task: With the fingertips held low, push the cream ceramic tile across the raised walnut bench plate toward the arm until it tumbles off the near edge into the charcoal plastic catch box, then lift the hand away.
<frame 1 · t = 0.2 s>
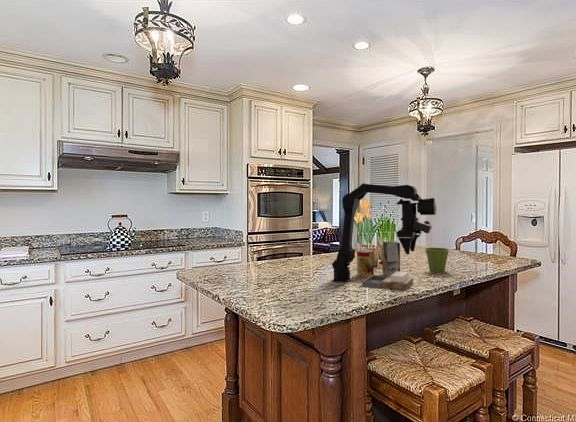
hand: (410, 252, 151), 14 cm above the countertop, fingers open, 9 cm apart
coffee box: (391, 275, 177), on the countertop
catch box: (377, 283, 159), on the countertop
canned food: (365, 275, 177), on the countertop
cream tile: (399, 279, 154), point 2 cm above the countertop, touching bench plate
bench plate: (397, 285, 155), on the countertop
plant pot: (437, 271, 185), on the countertop
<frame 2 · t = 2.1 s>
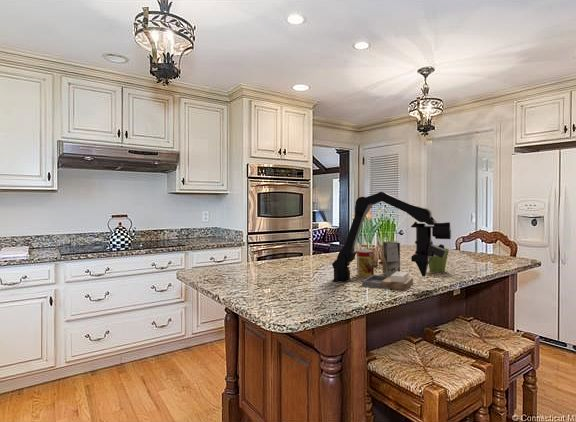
hand: (423, 276, 149), 5 cm above the countertop, fingers closed
nothing on the countertop moved.
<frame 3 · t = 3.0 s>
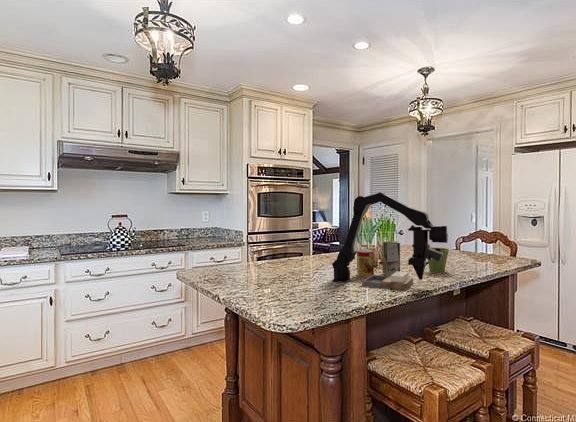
hand: (420, 279, 150), 3 cm above the countertop, fingers closed
nothing on the countertop moved.
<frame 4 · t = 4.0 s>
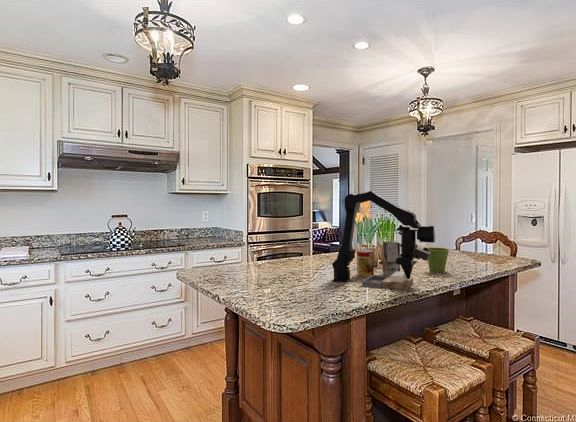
hand: (408, 278, 153), 3 cm above the countertop, fingers closed, pressing on cream tile
cream tile: (399, 279, 154), point 3 cm above the countertop, touching gripper
everything else where it was.
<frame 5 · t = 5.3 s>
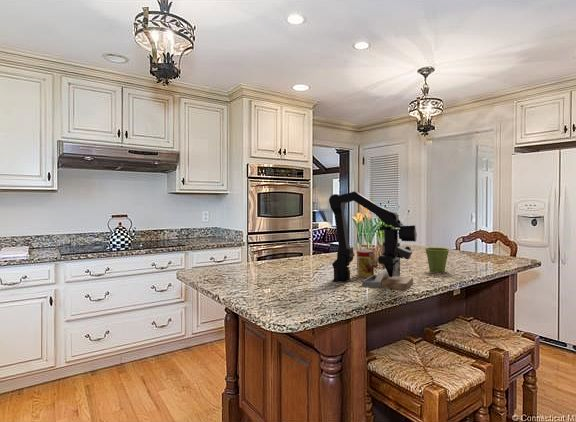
hand: (391, 276, 156), 3 cm above the countertop, fingers closed
cream tile: (384, 278, 158), point 3 cm above the countertop, tilted 66°, touching catch box
everything else where it was.
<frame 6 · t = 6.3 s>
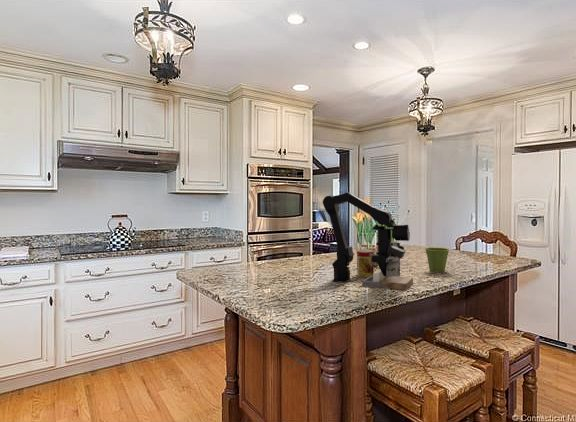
hand: (384, 276, 158), 4 cm above the countertop, fingers closed, pressing on cream tile
cream tile: (382, 277, 158), point 3 cm above the countertop, tilted 91°, touching catch box, gripper
everything else where it was.
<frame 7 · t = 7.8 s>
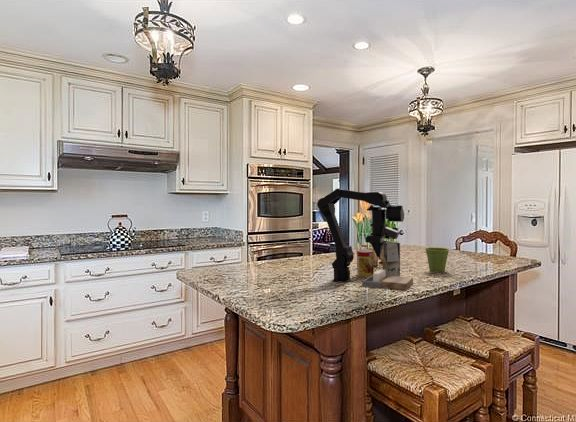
hand: (378, 257, 157), 12 cm above the countertop, fingers closed
cream tile: (382, 277, 158), point 3 cm above the countertop, tilted 90°, touching catch box
everything else where it was.
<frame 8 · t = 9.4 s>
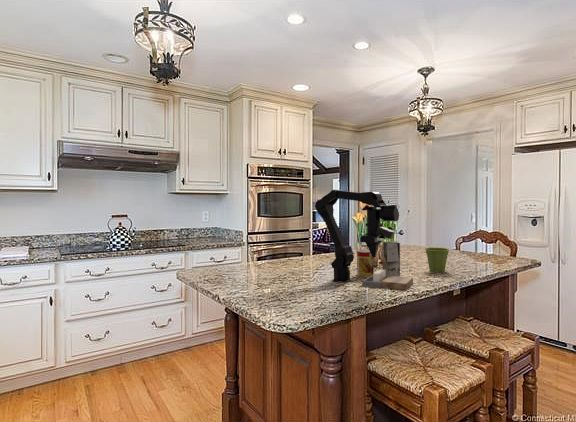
hand: (374, 257, 156), 12 cm above the countertop, fingers closed
nothing on the countertop moved.
at the end: cream tile inside the target area on the catch box (2.2 cm from its centre), point 2.8 cm above the catch box's base; cream tile touching catch box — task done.
